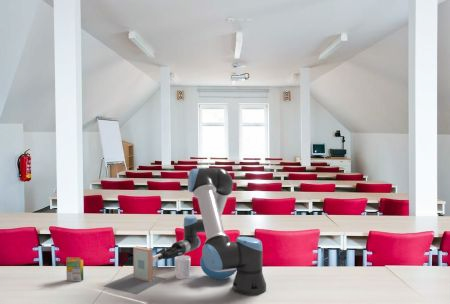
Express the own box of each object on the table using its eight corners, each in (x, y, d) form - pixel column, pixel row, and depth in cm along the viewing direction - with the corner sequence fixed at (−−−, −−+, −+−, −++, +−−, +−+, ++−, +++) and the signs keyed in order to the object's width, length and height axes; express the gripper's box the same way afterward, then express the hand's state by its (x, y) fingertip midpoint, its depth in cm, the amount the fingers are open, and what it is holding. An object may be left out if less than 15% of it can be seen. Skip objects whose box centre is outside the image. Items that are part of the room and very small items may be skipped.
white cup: (183, 281, 190) (183, 261, 190) (171, 278, 195) (171, 258, 194) (194, 277, 196) (194, 257, 196) (182, 273, 201) (182, 254, 201)
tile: (152, 279, 191) (152, 249, 190) (149, 281, 189) (149, 250, 188) (136, 276, 196) (136, 246, 195) (133, 277, 194) (133, 247, 193)
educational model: (238, 283, 187) (238, 252, 187) (199, 283, 188) (198, 252, 187) (238, 272, 203) (238, 243, 202) (201, 272, 203) (201, 243, 203)
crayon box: (83, 279, 194) (83, 255, 194) (80, 281, 191) (80, 257, 191) (69, 278, 195) (69, 255, 194) (66, 281, 192) (66, 257, 191)
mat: (167, 279, 193) (167, 278, 193) (136, 295, 174) (136, 294, 174) (135, 272, 203) (135, 271, 203) (103, 287, 183) (103, 286, 183)
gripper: (190, 256, 216) (163, 269, 196) (171, 253, 223) (142, 265, 202) (190, 242, 216) (162, 254, 195) (171, 239, 222) (142, 250, 202)
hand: (152, 259), depth 199 cm, fingers closed
